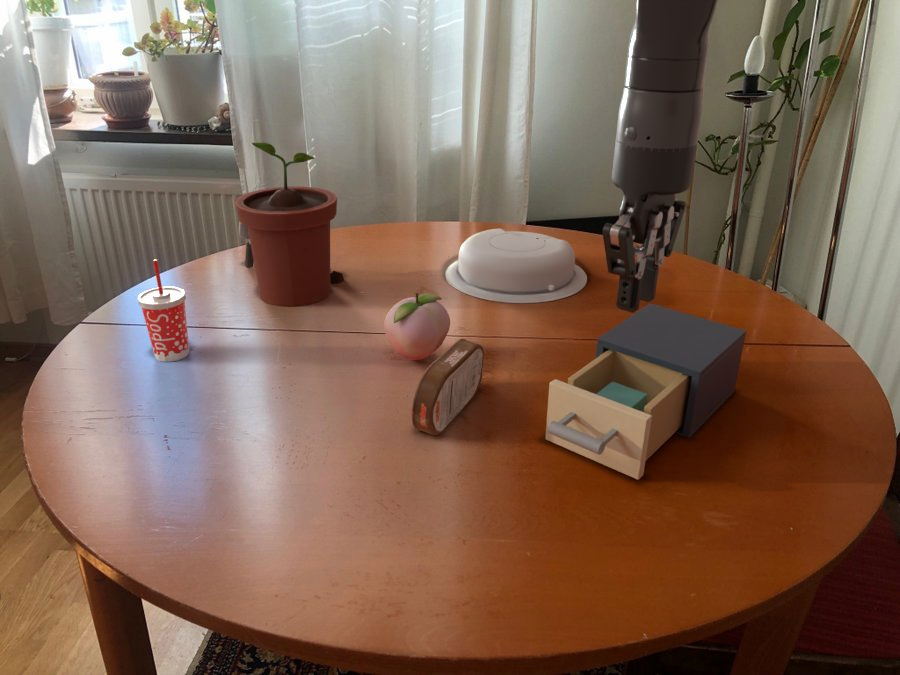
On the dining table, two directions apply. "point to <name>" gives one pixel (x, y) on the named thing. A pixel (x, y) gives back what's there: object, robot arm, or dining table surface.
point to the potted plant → (289, 239)
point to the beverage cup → (165, 320)
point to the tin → (447, 386)
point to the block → (624, 396)
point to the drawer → (616, 411)
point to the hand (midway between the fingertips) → (635, 303)
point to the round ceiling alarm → (516, 267)
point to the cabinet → (683, 355)
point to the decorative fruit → (417, 326)
